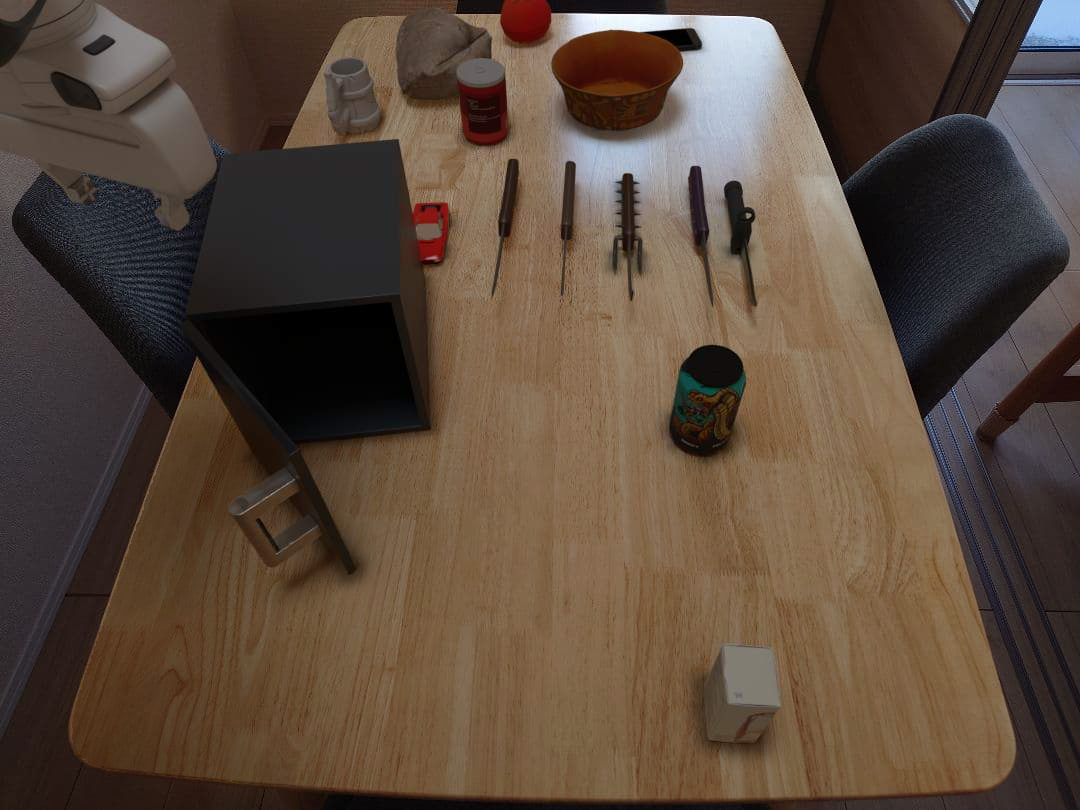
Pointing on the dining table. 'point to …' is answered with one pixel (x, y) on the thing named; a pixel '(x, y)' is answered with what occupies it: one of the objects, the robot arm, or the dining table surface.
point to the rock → (436, 52)
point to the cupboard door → (270, 470)
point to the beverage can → (707, 399)
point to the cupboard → (318, 289)
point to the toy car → (432, 230)
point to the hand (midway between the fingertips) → (131, 212)
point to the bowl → (616, 77)
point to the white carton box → (741, 693)
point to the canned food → (483, 101)
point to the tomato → (525, 20)
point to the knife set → (698, 215)
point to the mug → (351, 96)
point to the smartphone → (679, 37)
